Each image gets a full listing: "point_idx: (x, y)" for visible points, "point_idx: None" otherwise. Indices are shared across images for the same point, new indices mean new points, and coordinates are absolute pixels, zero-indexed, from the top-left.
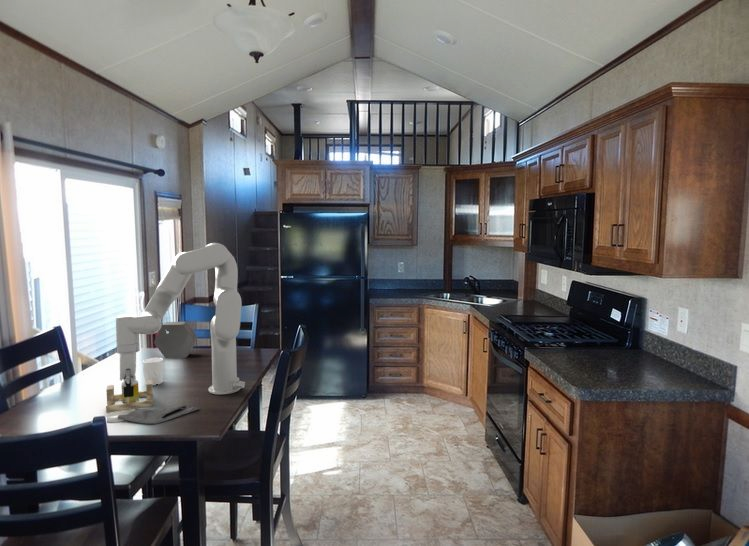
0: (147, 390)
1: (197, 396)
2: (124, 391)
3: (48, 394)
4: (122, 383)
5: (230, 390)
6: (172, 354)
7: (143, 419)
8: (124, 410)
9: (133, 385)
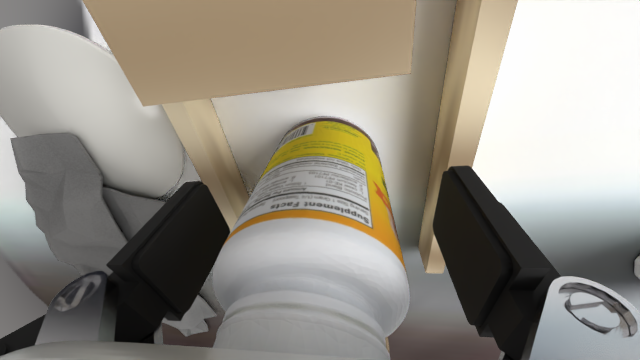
0: None
1: None
2: (157, 222)
3: None
4: (250, 253)
5: None
6: None
7: (50, 237)
8: (168, 149)
9: (176, 320)
